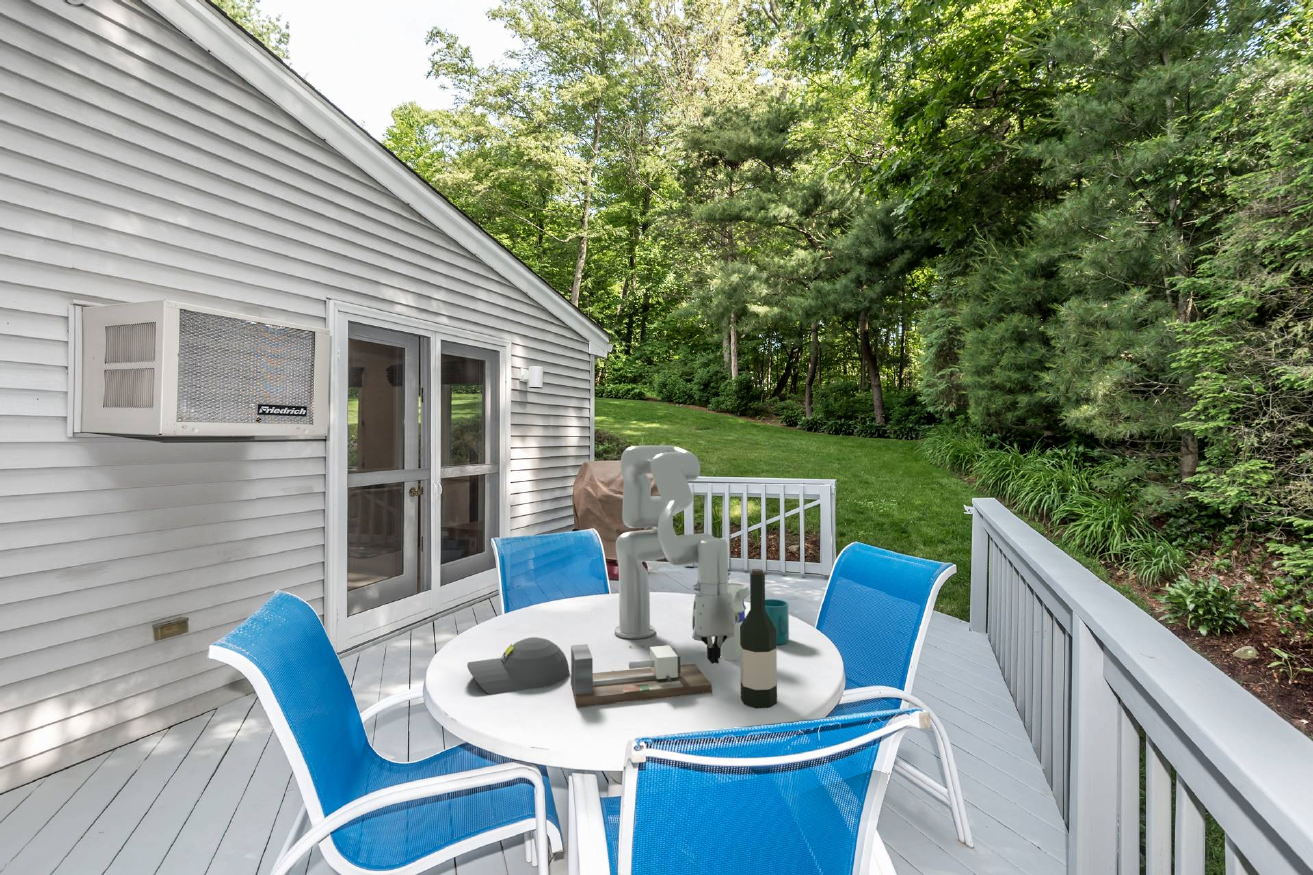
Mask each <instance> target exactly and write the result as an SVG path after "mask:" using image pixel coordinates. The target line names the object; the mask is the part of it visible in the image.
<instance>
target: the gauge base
mask: <svg viewBox="0 0 1313 875" xmlns="http://www.w3.org/2000/svg"><path fill="white" fill-rule="evenodd" d="M570 652H571V653H570V654H571V655H570V657H571V658H570V661H571V662H570V664H571V665H570V668H571V669H570V672H571V674H570V686H571V690H572V695H573V699H574V704H575V708H583V707H584V708H585V707H590V706H591V707H592V706H593V707H594V706H601V705H609V704H619V703H620V704H621V703H630V702H637V701H638V702H640V701H647V700H658V699H667V697H668V698H676V697H685V696H693V695H703V694H704V695H705V694H713V693H712V692H713V690H712V689H713V688H712V687H713V686H712V682H710V680H709V679H708V678H707V676H705V674H704V673H703V672H702V670H700V668H699V667H698V665H696V663H687V664H686V663H685V664H681V673H678V677H674V678H671V682H668V680H667V678H664V679H657V678H656V676H655V674H654V673H653V671H652V669H651V668H650V667H644V668H634V669H623V670H612V671H602V672H593V669H594V668H593V667H594V665H593V663H594V661H593V656H592V653H591V650H590V646H589V645H588V643H587V644H586V643H585V644H571V645H570Z"/></svg>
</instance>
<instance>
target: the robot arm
mask: <svg viewBox="0 0 1313 875" xmlns="http://www.w3.org/2000/svg"><path fill="white" fill-rule="evenodd" d="M620 470H621V475H622V480H623V492H622V493H623V494H622V513H621V514H622V515H621V517H622V522H623V524H624V525H625V527H628V528H631V529H641V528H652V529H646V530H645V529H644V530H634V531H627V532H624V533H622V534H620V535H619V536H618V537H617V539H616V541H615V554H616V557H617V558H616V559H617V565H618V583H619V584H618V593H619V594H618V595H619V596H618V600H619V602H618V603H619V604H618V605H619V607H618V608H619V614H618V615H619V616H618V618H619V621H618V622H619V625H618V626H617V627H615V628H614V635H615V636H617V637H619V638H621V639H622V638H623V639H629V640H630V639H631V640H632V639H633V640H638V639H644V638H648V637H651V636H653V635H654V634H655V632H656V630H655V626H653V625H651V611H650V610H651V607H650V606H651V602H650V600H651V599H650V598H651V597H650V595H651V593H650V590H651V588H650V587H651V586H650V575H649V574H650V573H649V572H648V570H647V569H646V568H645V566H644V565H643V562H649V561H657V560H663V559H665V558H666V560H667V561H668V563H669V564H672V565H674V566H682V565H683V566H684V565H691V564H697V581H696V584H692V588H691V589H692V591H695V592H696V593H695V595H694V601H693V607H692V617H691V618H692V620H691V621H692V622H691V623H692V624H691V625H692V626H691V628H692V635H691V637H692V639H693V640H694V641H697V642H702V643H703V644H705V645H706V658H707V660H708V661H709V662H710V664H712V665H715V664H720V660H721V657H720V647H721V646H722V644H723V642H724V641H725V640H726V639H727V638H731V637H734V632H735V614H734V605H733V599H732V595H731V593H729V592H728V583H729V580H728V577H729V576H728V572H729V562H728V560H729V557H728V556H729V553H728V552H729V550H728V549H729V548H728V547H729V546H728V542H727V541H726V540H725V539H723V538H720V537H714V536H713V535H712V534H710V533H705V532H702V533H701V532H700V533H691V534H690V533H689V534H680V535H678V534H676V531H675V528H674V525H673V517H674V516H676V515H677V514H679V513H681V512H683V511H684V510H686V509H687V508H688V507H689V506H691V504H692V503H693V501H694V496H693V495H694V494H693V492H692V490H691V487H690V484H689V483H688V482H692V481H696V480H697V479H698V478H699V476H700V474H701V464H700V461H699V458H698V457H697V456H696V455H695V454H694V453H693V452H691V451H689V450H686V449H684V448H681V447H678V446H675V445H666V444H665V445H659V444H658V445H653V444H652V445H651V444H650V445H648V444H647V445H633V446H629V447H627V448H625V450H624V451H623V452H622V454H621V457H620ZM649 474H651V475H652V476H653V480H654V483H655V485H656V487H657V492H658V493H659V496H658V495H657V496H656V495H655V496H654V495H653V496H651V492H652V484H651V481H650V479H649V477H648V475H649ZM712 637H714V638H712Z"/></svg>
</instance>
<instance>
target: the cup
mask: <svg viewBox="0 0 1313 875" xmlns="http://www.w3.org/2000/svg"><path fill="white" fill-rule="evenodd" d="M789 606H790V605H789V603H788V602H787V601H785V600H783V599H777V598H769V599H768V598H767V599H766V598H765V611H766V613H767V614H768V616H769V618H770V620H771V621H772V623H773V625H774V627H775V628H776V646H779V645H784V644H787V643H788V642H789V641H790V627H789V626H790V623H789V622H790V621H789V620H790V619H789V617H790V615H789V610H790V609H789Z"/></svg>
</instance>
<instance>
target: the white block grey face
mask: <svg viewBox="0 0 1313 875" xmlns="http://www.w3.org/2000/svg"><path fill="white" fill-rule="evenodd" d="M681 665H682V663H681V654H679V653H678V652H677V650H676V649H675V648H674V647H673V648H672V647H671V646H670V645H669V644H667V645H661V646H659V645H658V646H657V645H656V646H650V647H649V658H645V659H635V660H629V661H628V670H631V669H642V668H651V669H652V671H653V673H654V674H655V676H656V678H657V679H664V678H667V680H668V682H671V678H674V677H678V673H681Z"/></svg>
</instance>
